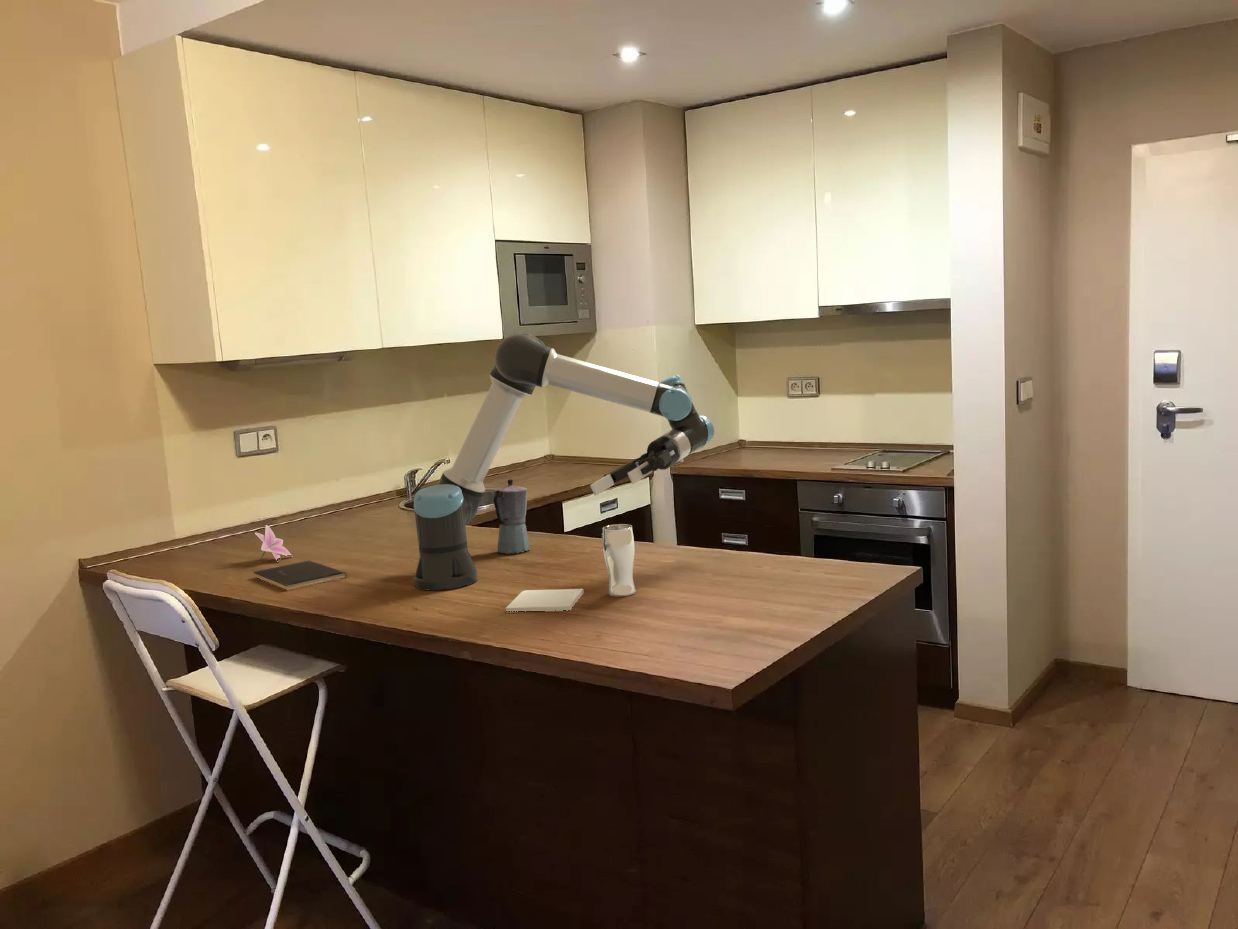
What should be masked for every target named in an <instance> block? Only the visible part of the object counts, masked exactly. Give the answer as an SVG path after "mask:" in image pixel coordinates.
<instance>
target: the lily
mask: <svg viewBox="0 0 1238 929" xmlns="http://www.w3.org/2000/svg"><path fill="white" fill-rule="evenodd" d="M264 531H265V533H264V534H262V533H258V532H254V534H255V535H256V536H257V537H258V538H259V539H260V541H261V542H262V544H261V548H260V550H261V551H262V552H263V554H262V555H261V558H262V559H263V557H264V555H265V553H266V552H269V553H271V554H272V555H273V557H274V559H275V560H276V561H277V559H278V558H280V559H281V555H283V556H286V557H288V556H287V555H292V554H291V553H290V551H289V550H288V549H287V547H285V546H283V545H284V544H283V543H284V540H283V539H282V538H277V537H276V535H275V533H274V531H273V530H272V529H271V527H270V526H269V525H267V524H265V530H264ZM261 558H260V559H261Z"/></svg>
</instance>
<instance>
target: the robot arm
mask: <svg viewBox="0 0 1238 929" xmlns="http://www.w3.org/2000/svg"><path fill="white" fill-rule="evenodd" d="M489 378H490V381H491V385H490V388H489V390H488V392H487V394H486V396H485V398H484V399H483V402H482V404H481V406H480V408H479V410H478V413H477V415H476V416H475V419H474V421H473V424H472V426H470V429H469V431H468V434H467V436H466V438H465V439H464V442H463V444H462V445H461V448H460V450H459V453H458V455H457V457H456V459H455V461H454V463H453V465H452V467H450V468H447V469H445V470H444V471H443V472H442V473H441V476H440V478H439V480H438V483H437V484H434V485H429V486H426V487H423V488H421V489H420V490H417V491H416V492H415V494H414V497H413V500H414V501H413V510H414V516H415V517H414V518H415V525H416V535H417V544H418V554H419V555H418V561H417V565H416V570H415V573H414V586H416V587H417V588H416V587H415V588H416V589H418V588H420V589H419V590H422V589H429V590H428V591H443V590H442V589H447V590H453V589H459V588H463V587H466V586H465V585H467V586H469V585H472V584H474V583H476V582H477V581H478V580H477V579H478V578H479V576H478V570H477V568H476V565H475V563H474V560H473V558H472V556H471V553H470V552H469V549H468V548H469V547H468V541H467V540H468V539H467V530H466V526H467V525H468V524H471V522H472V521H473V519H475V516H477V513H478V510H479V506H480V502H481V500H482V498H483V497H484V494H485V492H486V487H485V485H484V480H485V478H486V476H487V474H488V472H489V470H490V468H491V466H492V464H493V461H495V460H494V459H495V457H496V455H497V453H498V451H499V449H500V448H501V445H502V443H503V441H504V439H505V437H506V435H507V433H508V430H509V428H510V427H511V425H512V422H513V421H514V418H515V416H516V414H517V412H518V411H519V408H520V406H521V404H522V401H523V400H524V399H525V398H528V397H531V396H532V395H533V393H534V390H535V388H536V387H540V388H545V387H547V386H552V387H555V388H560V389H563V390H566V391H571V392H574V393H578V394H581V395H584V396H585V395H586V396H588V397H592V398H596V399H599V400H602V401H607V402H611V403H614V404H618V405H621V406H625V407H628V408H633V409H637V410H638V411H644V412H647V413H649V414H652V415H657V416H661V417H662V418H663V417H664V418H665V419H666V420H667V421H668V423H669V427H670V428H671V430H669V431H667V432H666V433H664V434H662V435H661V436H660V437H658V438H656V439H654V440H653V441H651V442H649V443H648V445H647V447H646V452H645V453H643V454H642V455H640V456H639V457H637V458H634V460H632V461H629V462H628V463H626V464H623V465H622V466H620V467H618V468H616V469H615V470H612V471H610V472H607V473H606V474H604V475H603V476H602V478H600V479H598V480H597V481H594V482H593V483H592V484H590V485H589V487H590V489H591V490H592V493H593V494H594V496H598V495H599V494H601V493H602V492H605V491H606V490H608V489H609V488H614V487H615V484H616V483H618V482H620V481H622V480H625V479H626V478H629V481H630V482H631V484H632V485H633V484H635V483H637V482H639V481H640V480H642V479H644V478H646V477H647V476H649V475H650V474H652V473H653V472H656V471H657V470H661V471H664V470H665V471H666V470H668V469H670V468H671V467H672V466H674V465H675V464H677V463H678V462H681V463H683V462H684V461H685V460H684V459H685V458H686V457H688V456H690V455H691V454H693V453H695V452H696V451H698V450H700V449H701V448H704V446H706V445H707V444H708V443H710V442H711V441H712V440H713V438H714V435H715V426H714V424H713V422H712V421H711V420H710V419H709V418H708V417H707V416H705V415H703V414H699V413H698V412H697V409H696V408H695V405H694V403H693V401H692V397H691V395H690V394H689V391H688V389H687V386H686V385H685V382H684V381H683V379H682V377H681V376H680V375H679V374H673V375H671V376H669V377H667V378H665V379H662V380H660V381H656V380H655V381H654V380H650V379H648V378H643V377H641V376H637V375H634V374H630V373H626V372H622V371H620V370H616V369H612V368H608V367H606V366H601V365H597V364H594V363H591V362H587V361H585V360H584V361H583V360H581V359H578V358H573V357H569V356H566V355H562V354H559V353H557V352H556V350H555V348H552V347H550V346H546V345H545V343H544V342H543V341H542V340H541V339H540V338H538V337H536V335H532V334H530V333H519V334H512V335H509V336H507V337H505V338H504V339H503V340H501V342H499V344H498V345H497V346H496V349H495V352H494V365H493V367H492V369H491V372H490V373H489ZM462 586H463V587H462ZM439 589H441V590H439Z"/></svg>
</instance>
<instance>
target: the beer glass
mask: <svg viewBox="0 0 1238 929" xmlns="http://www.w3.org/2000/svg"><path fill="white" fill-rule="evenodd" d="M634 539H635V538H634V533H633V525H632V524H628V523H627V524H626V523H619V524H617V523H616V524H610V525H609V524H608V525H606V526H603V527H602V550H603V551H602V552H603V557H604V561H605V565H606V568H607V573H608V580H609V581H608V583H609V584H608V595H609V596H611V597H616V598H617V597H619V598H623V597H629V596H633V595H635V594H636V592H637V591H636V585H635V582H634V563H635V540H634Z"/></svg>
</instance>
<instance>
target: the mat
mask: <svg viewBox="0 0 1238 929" xmlns="http://www.w3.org/2000/svg"><path fill="white" fill-rule="evenodd" d="M584 591H585V590H584V588H567V589H566V588H565V589H561V588H560V589H530V590H526V589H525V590H522V591H521V592H520V593H519V594H518V595H517V596H516V597H515V598H514V599H513V600H512V601H511V602H510V603H509V604H508V605H507V606H506V607H505V612H506V611H510V612H509V613H519V612H518V611H525V612H524V613H527V612H526V611H545V612H564V611H563V610H566V611H565V612H569V611H568V610H570V611H571V610H573V608H574V606H575V605H576V604H577V603H578V601H579V600H580V599H581V597H582V596H583V595H584ZM578 599H579V600H578ZM575 603H576V604H575ZM572 607H573V608H572ZM555 610H556V611H555ZM511 611H512V612H511ZM513 611H515V612H513ZM516 611H517V612H516Z"/></svg>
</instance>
